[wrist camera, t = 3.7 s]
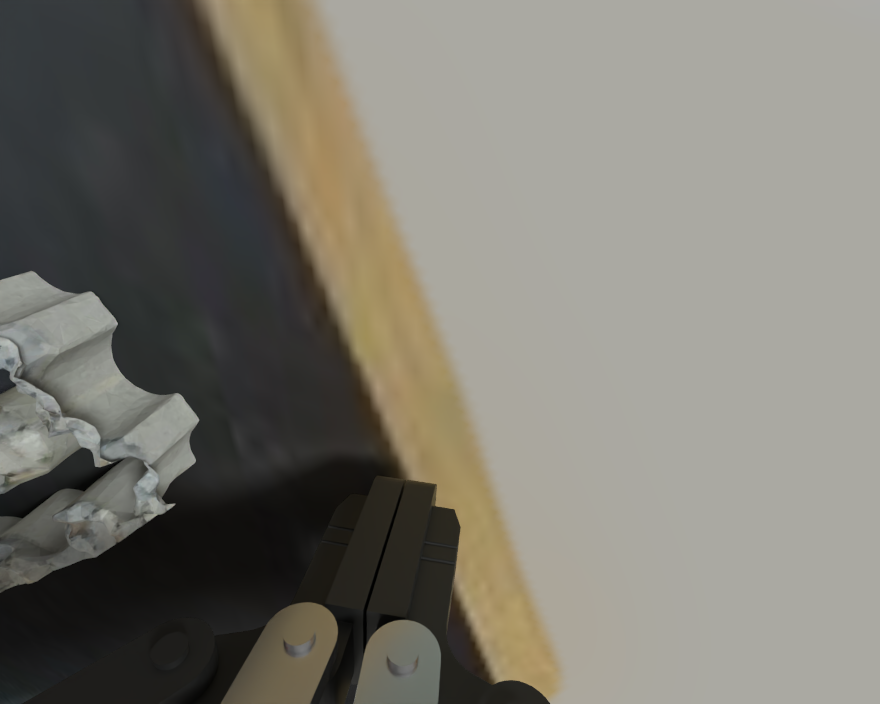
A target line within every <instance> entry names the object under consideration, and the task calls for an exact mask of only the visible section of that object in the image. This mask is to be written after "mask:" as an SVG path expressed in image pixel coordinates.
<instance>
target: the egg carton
mask: <svg viewBox="0 0 880 704" xmlns="http://www.w3.org/2000/svg"><path fill="white" fill-rule="evenodd" d="M117 325H118V323H117V321H116V320H115V318H114V317H113V315H112V314H111V313H110V312H109V311H108V309H107V308H106V307H105V306H104V305H103V304H102V302H101V300H100V299H99V298H98V297H97V296H96V295H95V294H94V293H93V292H85V293H82V294H74V293H69V292H63V291H61V290H59V289H57V288H55V287H53V286H51V285H50V284H48V283H47V282H46V281H44V280H43V279H42V278H40V277H39V276H38V275H37V274H36V273H35V272H33V271H30V272H26V273H23V274H20V275H16V276H13V277H10V278H6V279H3V280H0V370H8V371H10V379H11V380H12V381H13V382H14V383H15V384H16V386H15V387H13V388H11V389H9V390H7V391H5V392H3V393H2V394H0V494H3V493H6V492H7V491H9V490H11V489H12V488H14V487H16V486H17V485H19V484H21V483H23V482H26V481H28V480H31V479H34V478H36V477H39V476H42V475H44V474H47V473H49V472H50V471H51V470H52V469H54V468H55V467H56V466H57V465H59V464H60V463H61V462H62V461H64V460H65V459H66V458H67V457H69V456H70V455H71V454H73V453H74V452H75V451H77V450H78V449H80V448H81V447H82V448H84V447H85V448H88V449H90V450H91V451H92V453H93V456H94V462H95V467H103V466H106V465H109V464H111V463H114V462H117V461H119V460H122V459H124V460H123V461H121V462H120V463H118V464H117V465H116V466H114V467H113V468H112V469H110V470H109V471H108V472H107V473H106V474H105V475H103V476H102V477H101V478H100V479H98V480H97V481H96V482H94V483H93V484H92V485H91V486H90V487H89V488H88V489H87V490H86V491H84V492H83V491H80V490H75V489H62V490H59V491H57V492H56V493H55V494H53V495H52V496H51V497H50V498H49V499H47V500H46V501H45V502H43V503H42V504H41V505H40V506H38V507H37V508H36V509H35V510H33V511H32V512H31V513H29V514H28V515H27V516H26V517H24V518H23V519H22V518H18V517H10V516H4V517H0V593H1V592H2V591H4V590H6V589H8V588H11V587H13V586H16V585H21V584H25V583H27V584H30V583H33V582H36V581H38V580H40V579H41V578H43V577H44V576H46V575H47V574H49V573H50V572H52V571H55V570H57V569H60V568H63V567H66V566H69V565H71V564H74V563H76V562H78V561H81V560H83V559H88V558H95V557H97V556H98V555H100V554H101V553H103V552H104V551H106V550H107V549H109V548H111V547H112V546H114V545H115V544H117V543H118V542H120V541H121V540H123V539H124V538H126V537H127V536H129V535H130V534H131V533H133V532H134V531H135V530H136V529H138V528H139V527H141V526H143V525H144V524H146V523H147V522H148V521H150V520H151V519H152V518H154V517H155V516H157V515H158V514H159V515H161V514H163V513H165V512H166V511H168V510H169V509H170V508H172V507H173V506H174V505H175V504H176V503H175V504H166V503H165V502H164V501H163V500H162V497H163V495H164V493H165V492H166V490H167V488H168V486H169V484H170V483H171V482H172V481H173V480H174V479H175V478H176V477H177V476H179V475H180V474H181V473H183V472H184V471H185V470H187V469H188V468H189V467H190V466H192V465H193V464H194V463H195V462H196V460H195V457H194V455H193V453H192V451H191V449H190V444H189V438H190V435H191V432H192V430H193V429H194V428H195V426H196V425H197V424H198V422H199V419H198V417H197V416H196V414H195V413H194V411H192V409H191V408H190V406H189V405H188V404H187V403H186V402H185V400H184V398H183V397H182V396H181V395H180V394H178V393H175V394H170V395H156V394H151V393H148V392H146V391H143V390H142V389H140V388H138V387H136V386H134V385H133V384H132V383H131V382H129V381H128V380H127V379H126V378H125V377H124V376H123V375H122V374H121V372H120V371H119V369H118V368H117V366H116V364H115V362H114V360H113V356H112V350H111V341H112V333H113V332H114V330H115V329H116V327H117Z"/></svg>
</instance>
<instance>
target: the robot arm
mask: <svg viewBox="0 0 880 704" xmlns="http://www.w3.org/2000/svg"><path fill="white" fill-rule="evenodd" d="M436 489H437V485H436V484H431V483H425V482H418V481H411V480H407V482H406V480H404V479H397V478H391V477H384V476H378V475H377V476H376V477H375V479H374V481H373V484H372V487H371V489H370V492H369V494H368V496H365V495H358V494H351V495H350V496H349V497H347V498H346V499H345V500H344V501H343V502H342V503H341V504H340V505H339V506H337V507H336V510H335V512H334V514H333V516H332V518H331V520H330V522H329V525H328V529H326V531H325V533H324V535H323V537H322V540H321V543H320V544H319V546H318V548H317V550H316V552H315V555H314V557H313V559H312V561H311V563H310V565H309V567H308V570H307V572H306V574H305V576H304V578H303V580H302V582H301V585H300V587H299V589H298V591H297V593H296V595H295V597H294V599H293V601H292V603H291V604H290V606H288V607H286V608H284V609H283V610H281V611H279V612H278V613H277V614H276V615H275V616H274V617H273V618H272V619H271V620H270V621H269V622H268V624H267V625H265V626H263V627H260V628H257V629H254V630H250V631H244V632H237V633H230V634H223V635H216V636H214V634H213V631H212V629H211V628H210V626H209V625H208V624H207V623H206V622H204V621H202V620H200V619H197V618H189V617H186V618H178V619H174V620H171V621H168V622H166V623H164V624H162V625H160V626H158V627H156V628H154V629H152V630H151V631H149V632H147V633H145V634H144V635H142V636H140V637H138V638H137V639H135V640H133V641H131V642H130V643H128V644H126V645H124V646H123V647H121V648H119V649H117V650H116V651H114V652H112V653H110V654H109V655H107V656H105V657H103V658H102V659H100V660H98V661H96V662H95V663H93V664H91V665H89V666H88V667H86V668H84V669H82V670H81V671H79V672H77V673H75V674H74V675H72V676H70V677H68V678H67V679H65V680H63V681H61V682H60V683H58V684H56V685H54V686H53V687H51V688H49V689H47V690H46V691H44V692H42V693H40V694H39V695H37V696H35V697H33V698H32V699H30V700H28V701H26V702H24V703H23V704H345V700H346V697H347V694H348V690H349V687H350V684H355V685H358V686H357V691H356V696H355V700H354V704H550V703H549V702H548V700H547V699H546V698H545V697H544V696H543V695H542V694H541V693H540V692H539V691H538V690H536V689H535V688H533V687H532V686H530V685H528V684H526V683H523V682H520V681H513V680H509V681H502V682H498V683H496V684H494V685H491V684H489V683H487V682H486V681H484V680H482V679H481V678H479V677H477V676H475V675H474V674H472V673H471V672H469V671H468V670H466V669H465V668H464V667H463V666H462V665H461V664H460V663H459V662H458V661H457V660H456V658H455V657H454V655H453V654H452V652H451V650H450V647H449V645H448V641H447V627H448V620H449V613H450V606H451V599H452V591H453V584H454V577H455V570H456V561H457V552H458V544H459V535H460V524H459V522H458V519H457V516H456V513H455V510H454V509H448V508H442V507H436V506H435V501H436Z"/></svg>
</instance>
